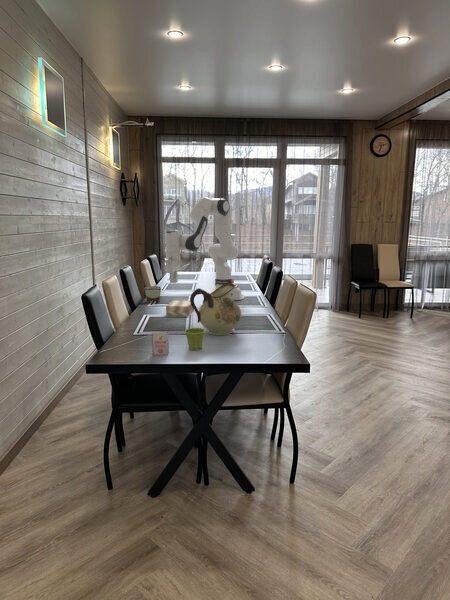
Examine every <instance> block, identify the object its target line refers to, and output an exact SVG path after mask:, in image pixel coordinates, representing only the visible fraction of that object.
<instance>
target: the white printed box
mask: <svg viewBox="0 0 450 600" xmlns="http://www.w3.org/2000/svg"><path fill="white" fill-rule="evenodd" d="M169 344H170V343H169V333H168V332H152V337H151V348H152V350H151V352H152V356H155V357H156V356H159V357H160V356H169V354H170V350H169V349H170V348H169V347H170V345H169Z"/></svg>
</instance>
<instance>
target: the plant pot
mask: <svg viewBox="0 0 450 600" xmlns="http://www.w3.org/2000/svg"><path fill="white" fill-rule="evenodd" d="M205 332H206V329H205V328H200V327H192V328H187V329H185V330H184V333H185V336H186V340H187V345H188V350H190V351H198V350H199V351H200V350H202V349H203V342H204V335H205Z"/></svg>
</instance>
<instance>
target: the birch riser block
mask: <svg viewBox="0 0 450 600" xmlns="http://www.w3.org/2000/svg"><path fill="white" fill-rule="evenodd" d="M194 311H195V310H194V309H193V307H192V305H191V302H190V300H171V301H170V302H169V303H168V304H167V305H166V306H165V312H166V316H185V315H186V316H187V315H188V316H190V315H191V313H192V312H194ZM186 316H185V317H186ZM188 316H187V317H188Z"/></svg>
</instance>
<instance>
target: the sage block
mask: <svg viewBox="0 0 450 600" xmlns="http://www.w3.org/2000/svg"><path fill="white" fill-rule="evenodd" d="M178 279H179V277H178V270H177V271H175V272H174V279H171V275H170V274H169V283H170V284H176V283H177V284H178V281H179V280H178Z"/></svg>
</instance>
